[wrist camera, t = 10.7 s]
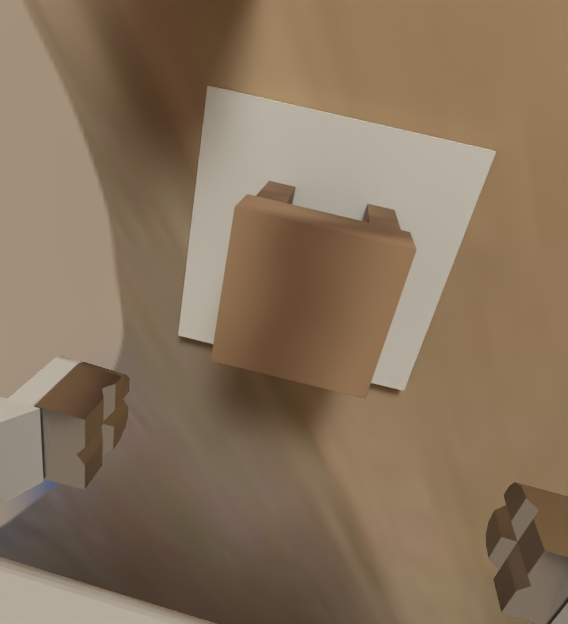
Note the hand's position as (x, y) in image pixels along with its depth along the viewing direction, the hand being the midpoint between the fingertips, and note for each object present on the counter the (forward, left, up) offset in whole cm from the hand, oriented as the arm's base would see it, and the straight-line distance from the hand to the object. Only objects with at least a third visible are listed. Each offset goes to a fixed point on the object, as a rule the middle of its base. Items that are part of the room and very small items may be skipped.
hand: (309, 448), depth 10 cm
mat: (+1, 0, -14) cm, 14 cm away
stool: (+1, 0, -13) cm, 13 cm away
